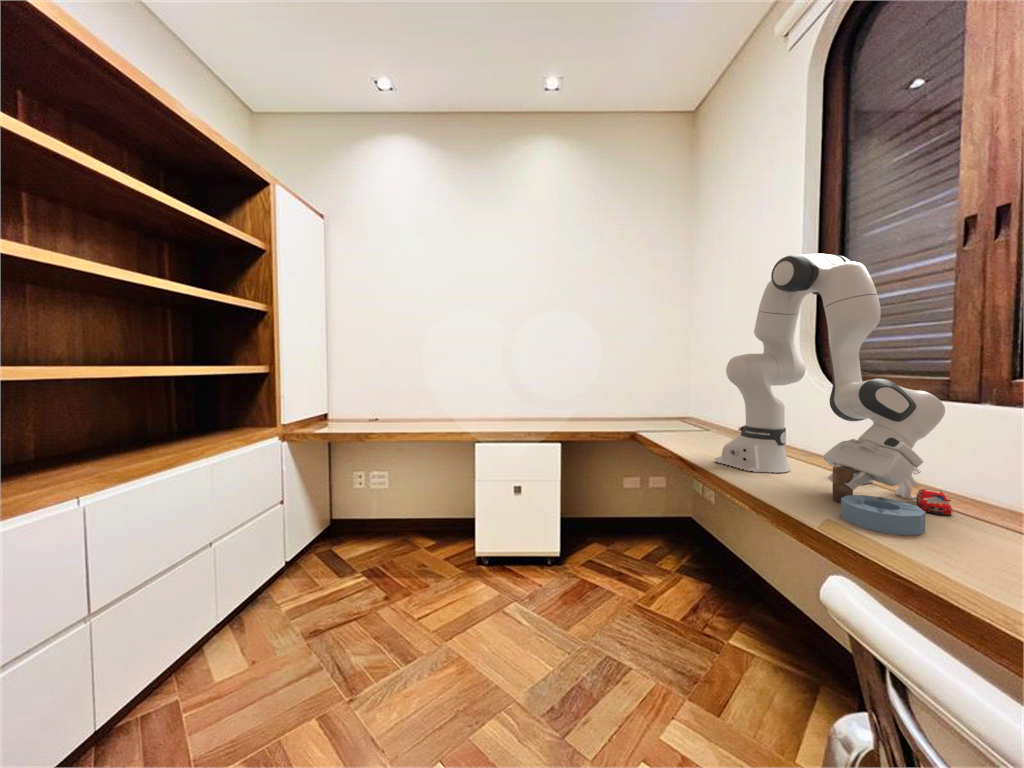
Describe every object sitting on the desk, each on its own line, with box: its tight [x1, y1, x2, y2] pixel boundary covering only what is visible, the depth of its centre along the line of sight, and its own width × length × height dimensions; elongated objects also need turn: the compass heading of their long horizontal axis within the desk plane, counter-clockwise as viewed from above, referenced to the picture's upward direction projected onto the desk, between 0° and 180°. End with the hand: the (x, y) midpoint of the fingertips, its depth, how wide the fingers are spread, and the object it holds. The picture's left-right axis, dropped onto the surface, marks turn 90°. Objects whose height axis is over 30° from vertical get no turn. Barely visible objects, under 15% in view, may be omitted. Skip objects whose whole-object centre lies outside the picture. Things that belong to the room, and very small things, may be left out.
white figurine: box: [895, 466, 921, 500], centre depth 102 cm, size 9×4×12 cm, turn 162°
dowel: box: [831, 466, 854, 504], centre depth 99 cm, size 4×4×8 cm
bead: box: [840, 494, 927, 536], centre depth 86 cm, size 13×13×4 cm
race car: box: [916, 488, 953, 516], centre depth 94 cm, size 13×5×4 cm, turn 136°
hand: (840, 483), depth 99 cm, fingers closed on dowel, 4 cm apart
